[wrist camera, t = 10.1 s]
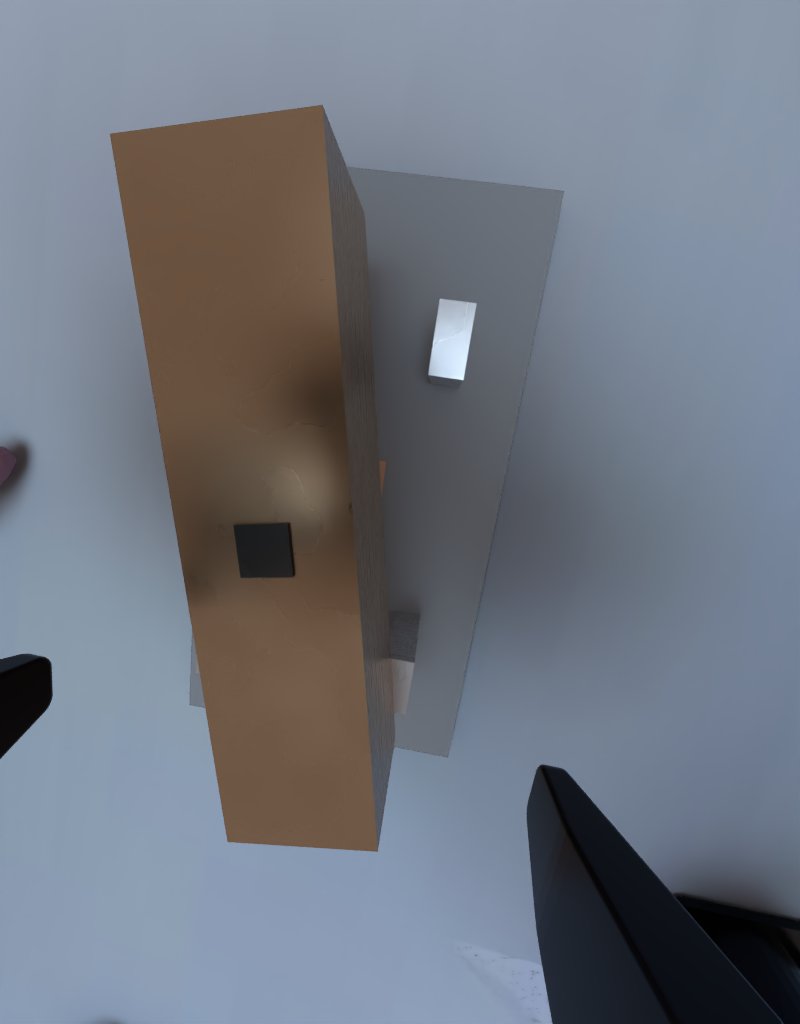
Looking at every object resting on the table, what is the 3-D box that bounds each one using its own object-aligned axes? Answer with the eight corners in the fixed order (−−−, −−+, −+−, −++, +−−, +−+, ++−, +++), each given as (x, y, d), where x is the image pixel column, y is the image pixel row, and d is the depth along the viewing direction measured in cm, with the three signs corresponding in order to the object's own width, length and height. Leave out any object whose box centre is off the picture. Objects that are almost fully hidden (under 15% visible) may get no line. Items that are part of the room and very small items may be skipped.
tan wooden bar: (364, 214, 11) (320, 100, 7) (395, 735, 15) (377, 855, 11) (222, 229, 12) (105, 129, 8) (283, 732, 15) (225, 845, 11)
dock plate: (556, 205, 15) (565, 189, 13) (447, 740, 20) (447, 759, 18) (223, 168, 15) (207, 149, 14) (201, 691, 20) (188, 706, 19)
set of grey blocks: (469, 330, 15) (476, 303, 11) (413, 658, 18) (405, 715, 14) (262, 302, 15) (210, 268, 12) (242, 625, 18) (195, 673, 15)
